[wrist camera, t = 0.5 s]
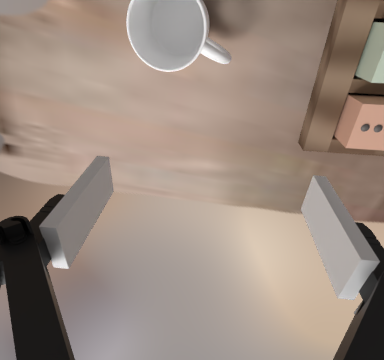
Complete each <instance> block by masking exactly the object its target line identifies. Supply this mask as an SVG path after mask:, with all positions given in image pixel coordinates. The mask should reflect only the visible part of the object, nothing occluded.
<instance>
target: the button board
mask: <svg viewBox="0 0 384 360" xmlns="http://www.w3.org/2000/svg"><path fill="white" fill-rule="evenodd" d="M374 18H382V19H384V1H382V0H338V1H337V4H336V8H335V11H334V15H333V19H332V22H331V26H330V30H329V33H328V37H327V40H326V44H325V48H324V51H323V55H322V58H321V62H320V66H319V69H318V73H317V77H316V80H315V84H314V87H313V91H312V95H311V98H310V102H309V105H308V109H307V113H306V116H305V120H304V124H303V127H302V131H301V134H300V138H299V142H298V143H299V144H300V146H301V148H302V149H303V151H317V152H332V153H346V154H361V155H376V156H384V151H382V150H367V149H352V148H345V147H344V146H343V145H342V144H341V143H340V141H339V140H338V139H337V138H336V137H335V136H334V133H335V129H336V126H337V123H338V120H339V117H340V115H341V112H342V109H343V106H344V103H345V100H346V97H347V94H348V93H364V94H382V95H384V83H371V82H369V81H366V80H364V79H362V78H360V77H358V76H355V75H354V74H355V72H356V69H357V66H358V63H359V60H360V57H361V54H362V52H363V49H364V46H365V43H366V40H367V37H368V34H369V32H370V29H371V26H372V23H373V20H374Z"/></svg>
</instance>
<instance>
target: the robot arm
mask: <svg viewBox="0 0 384 360" xmlns="http://www.w3.org/2000/svg"><path fill="white" fill-rule="evenodd" d="M112 193H113V183H112V176H111V169H110V162H109V157H103V156H97V157H96V158H95V159H94V161H93V162H92V163H91V164H90V165H89V167H88V168H87V169H86V170H85V171H84V173H83V174H82V175H81V176H80V178H79V179H78V180H77V181H76V182H75V184H74V185H73V186H72V187H71V188H70V190H69V191H68V192H67V193H66V194H65V195H61V194H58V195H56V196H54V197H53V198H51V199H49V201H48V202H47V203H46V204H45V205H44V207H42V208H41V210H40V211H39V212H38V213H37V214H36V215H35V216H34V217H33V219H32V220H31V221H30V222H29V220H28V219H27V218H26V217H23V216H14V217H9V218H7V219H5V220H3V221H1V222H0V287H1V285H3V284H6V288H7V295H8V302H9V310H10V317H11V324H12V331H13V338H14V344H15V352H16V358H17V360H75V359H74V355H73V352H72V349H71V345H70V342H69V339H68V336H67V332H66V329H65V326H64V322H63V319H62V315H61V312H60V309H59V306H58V302H57V299H56V296H55V292H54V289H53V286H52V282H51V279H50V275H49V272H48V269H47V265H48V263H49V262H50V260H51V261H52V264H53V266H54V267H57V268H67V269H68V268H70V266H71V264H72V262H73V261H74V259H75V257H76V255H77V254H78V252H79V250H80V248H81V247H82V245H83V243H84V242H85V240H86V238H87V236H88V235H89V233H90V231H91V229H92V228H93V226H94V224H95V223H96V221H97V219H98V217H99V216H100V214H101V212H102V210H103V209H104V207H105V205H106V203H107V202H108V200H109V198H110V197H111V195H112ZM301 211H302V213H303V215H304V218H305V220H306V223H307V225H308V228H309V230H310V232H311V235H312V237H313V239H314V242H315V245H316V247H317V250H318V252H319V254H320V257H321V259H322V262H323V264H324V267H325V269H326V271H327V274H328V276H329V279H330V281H331V284H332V286H333V288H334V291H335V293H336V296H337V298H341V299H350V300H354V299H355V298H356V296H357V295H358V293H360V295H361V297H362V299H363V301H362V302H361V304H360V305H359V306H358V308H357V309H356V311H355V312H354V314H355V316H354V318H353V320H352V322H351V324H350V326H349V328H348V330H347V332H346V334H345V336H344V338H343V340H342V342H341V344H340V346H339V348H338V351H337V352H336V354H335V357H334V359H333V360H384V248H383V247H382V246H381V244H380V242H379V241H378V240H377V239H376V237H375V235H374V234H373V232H372V231H371V230H370V229H369V228H368V227H367V226H365V225H364V224H363V223H357V222H354V220H353V219H352V217H351V215H350V214H349V212H348V211H347V209H346V208H345V206H344V204H343V203H342V201H341V200H340V198H339V197H338V195H337V193H336V192H335V190H334V189H333V187H332V186H331V184H330V183H329V181H328V179H327V178H326V177H325V176H314V175H313V178H312V180H311V183H310V186H309V189H308V191H307V194H306V197H305V200H304V202H303V205H302V208H301Z"/></svg>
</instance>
